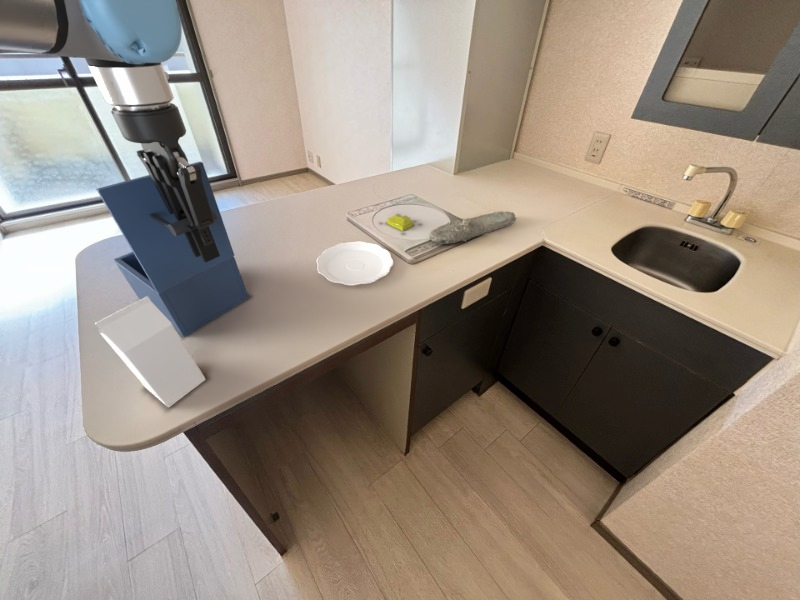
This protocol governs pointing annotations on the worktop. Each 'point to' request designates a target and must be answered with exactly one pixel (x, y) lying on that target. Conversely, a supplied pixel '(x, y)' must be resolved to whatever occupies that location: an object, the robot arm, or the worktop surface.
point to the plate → (354, 263)
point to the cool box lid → (161, 230)
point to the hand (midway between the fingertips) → (207, 255)
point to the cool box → (189, 292)
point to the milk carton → (152, 350)
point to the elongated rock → (471, 227)
